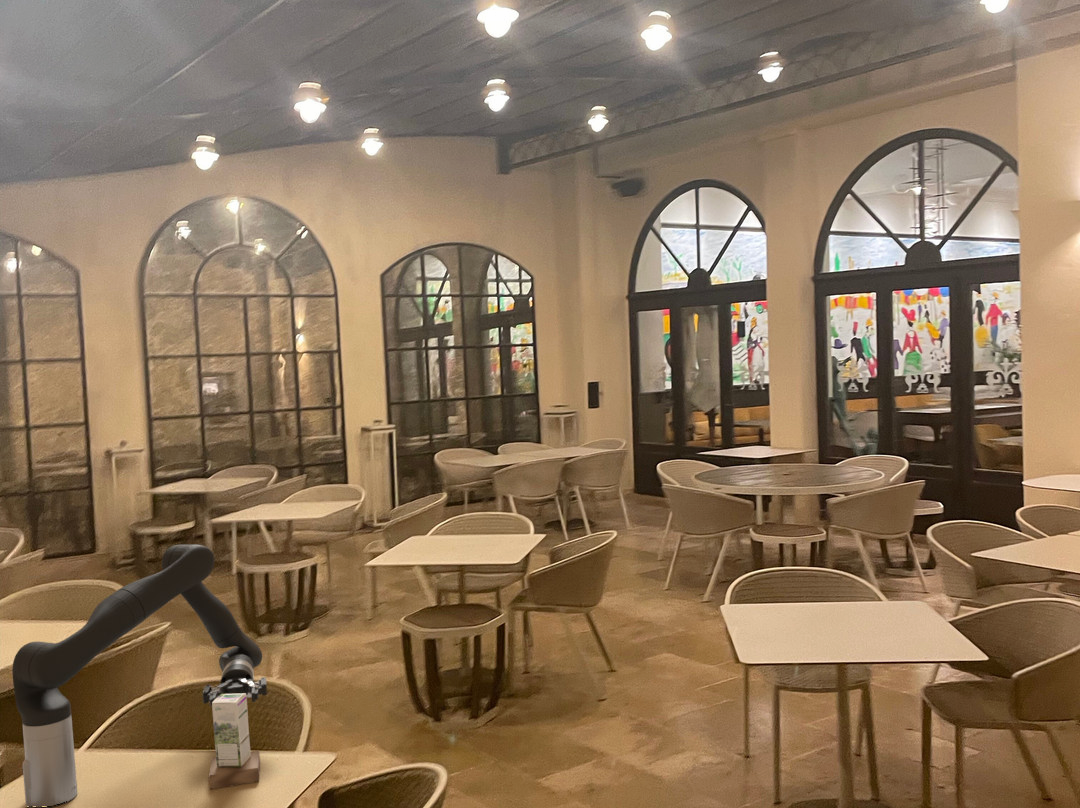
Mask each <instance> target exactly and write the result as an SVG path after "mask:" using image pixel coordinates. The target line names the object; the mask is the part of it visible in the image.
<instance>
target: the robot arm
mask: <svg viewBox="0 0 1080 808" xmlns="http://www.w3.org/2000/svg"><path fill="white" fill-rule="evenodd" d="M215 560H216V558H215V554H214V553H213V551H212V549H210V548H209V547H208V546H205V545H202V544H175V545H172V546H169V548H167V549H166V550H165V551H164V553H163V555H162V558H161V569H162V570H161V571H159V572H156V573H154V574H151V575H148V576H145V577H143V578H140V579H137V580H134V581H132V582H130V583H128V584H126V585H124V586H122V587H120V588H118V589H117V590H116V591H114V592H113V593H111V594H110V595H109V596H106V597H105V598H104V599H102V600H101V602H99V603H98V604H97V605H96V606H95V608H94V609H93V611H92V613H91V615H90V616H89V619H88V620H87V622H86V623H85V624H84V626H82V627H81V628H80V629H79V630H76V632H75V633H73V634H71V635H70V636H68V637H66V638H64V639H63V640H61V641H59V642H56V643H55V642H45V641H30V642H28V643H26V644H24V645H22V646H21V647H20V648H19V650H17V652H16V653H15V655H14V659H13V662H12V669H11V670H12V671H11V672H12V673H11V674H12V683H13V684H12V685H13V690H14V697H15V698H14V699H15V705H16V708H17V711H18V712H19V714H20V716H21V720H22V721H21V723H22V735H23V748H24V760H23V762H22V772H23V786H24V796H25V797H24V799H25V807H26V806H36V807H42V806H51V805H56V804H60V803H63V802H65V803H67V802H69V801H71V800H73V799H74V798H75V797H76V796H77V795H78V780H77V770H76V757H75V747H74V746H75V745H74V732H73V730H74V729H73V720H72V719H73V718H72V706H71V701H70V700H69V699H68V698H66V696H65V695H63V694H62V692H61V691H60V690H59V687H61V686H63V685H65V684H66V683H67V682H69V681H70V680H72V679H73V678H74V677H75V676H76V675H77V674H78V673H79V672H80V671H81V670H82V669H83V668H85V666H87V665H88V664H89V663H90V662H91V661H92V660H94V659H95V658H96V657H97V656H98V655H99V654H101V652H103V651H105V650H106V649H107V648H109V647H110V646H111V645H113V644H114V643H116V642H117V641H118V640H119V639H121V638H122V637H123V636H125V635H126V634H128V633H129V632H131V631H132V630H133V629H135V628H136V627H138V626H139V625H141V624H142V623H143V622H144V621H146V620H147V619H148V618H149V617H151V616H152V615H153V614H155V613H157V611H158V610H160V609H161V608H164V606H165V605H166V604H168V603H169V602H171V601H172V600H173V599H174V598H176V597H178V596H180V595H181V596H182V597H183V598H184V599H185V601H186V602H187V603H188V604H189V605H190V607H191V608H192V609H193V611H194V612H195V614H196V615H197V616H198V617H199V619H200V621H201V622H202V624H203V625H204V628H205V629H206V630H207V632H208V635H209V636H210V637H211V640H212V641H213V643H214V645H215V646H216V647H218V649H219V648H220V649H227V648H230V649H227V650H225V651H224V652H223V653H221V655H220V656H219V659H218V664H219V667H220V670H221V672H222V674H221V677H220V678H221V679H220V682H219V684H218V685H217V686H215V687H213V686H212V685H211V684H206V685H205V686H204V689H203V690H202V693H201V694H202V702H203V703H202V704H208V703H209V706H211V707H212V702H213V701H214V700H215V699H216V698H217V697H218V696H220V695H221V694H239V693H246V697H247V699H248V698H249V699H250V698H251V702H252V703H255V702H256V701H257V700H258V699H259V697H260V695H262V696H267V695H268V689H267V688H268V687H267V685H268V684H267V678H266V677H260V679H258V681H254V680H255V677H254V675H255V674H254V668H255V669H256V667H259V665H261V663H262V661H263V660H262V659H263V653H262V650H261V648H260V647H259V645H258V644H257V643H256V642H254V640H253V639H252V638H250V637H249V636H248V635H246V633H244V631H243V630H242V628H240V626H239V624H238V622H237V621H236V619H235V617H234V615H233V613H232V612H231V610H230V609H229V608H228V607H227V605H225V603H224V602H223V601H221V600H220V599H219V597H217V596H216V595H215V594H213V593H212V592H211V591H210V590H209V588H208V587H207V586H206V585H205V584H204V583H203V581H205V580H206V579H208V577H209V576H210V574H211V573H212V571H213V569H214V566H215V563H216V562H215ZM66 801H67V802H66ZM63 804H64V803H63ZM60 805H61V804H60ZM56 806H57V805H56Z"/></svg>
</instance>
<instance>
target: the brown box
mask: <svg viewBox="0 0 1080 808" xmlns="http://www.w3.org/2000/svg"><path fill="white" fill-rule="evenodd" d="M260 756H261V754H260V749H259V750H253V751H252V750H251V757H250V758H249V759H248V760H247V761H246V762H245V764H244V765H242V766H241V767H217V763H216V756H212V757H211V762H210V766H209V767H210V768H209V772H208V773H209V774H208V782H209V790H212V789H211V788H215V789H219V788H218V787H221V788H226V787H225V786H227V787H232V786H231V785H234V786H238V785H237V784H240V785H244V784H243V783H246V784H250V783H249V782H253V783H255V782H254V781H259V782H260V774H259V772H260V770H261V757H260Z"/></svg>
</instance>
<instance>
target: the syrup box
mask: <svg viewBox="0 0 1080 808" xmlns="http://www.w3.org/2000/svg"><path fill="white" fill-rule="evenodd" d="M211 709H212V721H213V735H214V748H215V749H214V750H215V757H216V763H217V767H241V766H242V765H244V764H245V762H246V761H247V760H248V759H249V758H250V757H251V752H252V750H251V743H250V730H249V729H250V728H249V714H248V713H249V712H248V697H246V693H239V694H221V695H220V696H218V697H217V698H216V699H215V700H214V701H213V702H212V706H211Z"/></svg>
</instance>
